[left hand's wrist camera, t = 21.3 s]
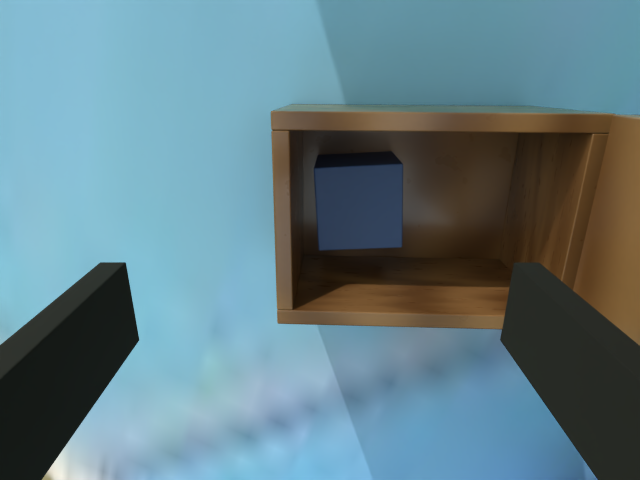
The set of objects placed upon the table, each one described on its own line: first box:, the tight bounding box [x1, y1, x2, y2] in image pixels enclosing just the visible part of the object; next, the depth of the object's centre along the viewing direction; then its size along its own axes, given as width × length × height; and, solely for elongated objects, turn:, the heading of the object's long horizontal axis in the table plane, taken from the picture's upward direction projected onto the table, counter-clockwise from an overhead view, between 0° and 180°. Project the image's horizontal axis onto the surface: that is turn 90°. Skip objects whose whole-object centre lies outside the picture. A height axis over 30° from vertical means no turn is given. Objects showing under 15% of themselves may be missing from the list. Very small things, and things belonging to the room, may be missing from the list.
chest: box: [271, 104, 615, 329], centre depth 25 cm, size 15×11×9 cm
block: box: [314, 151, 403, 250], centre depth 26 cm, size 5×5×5 cm
